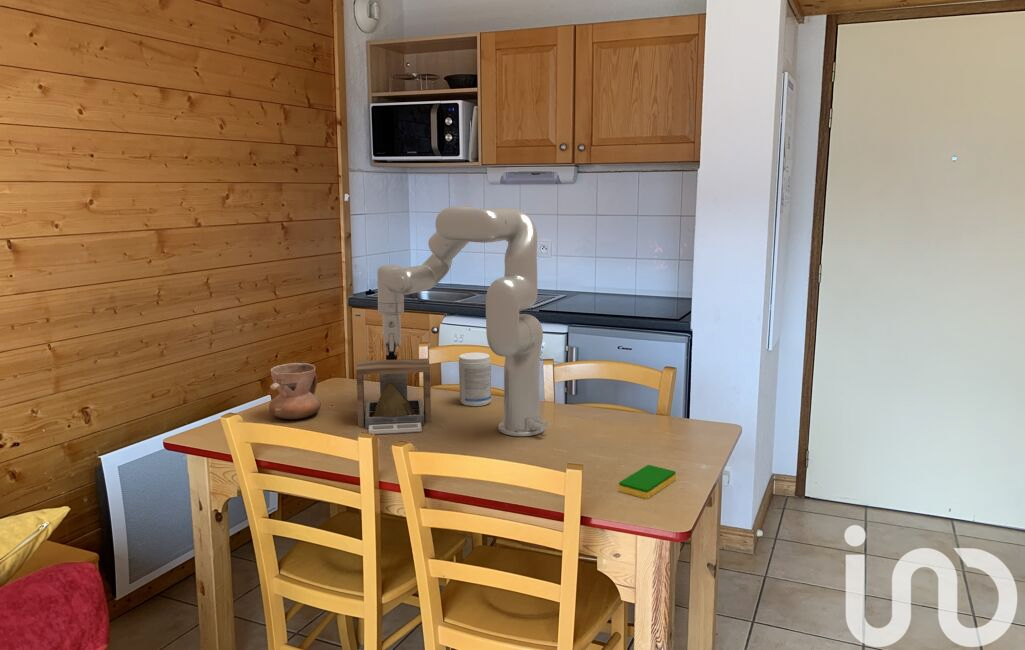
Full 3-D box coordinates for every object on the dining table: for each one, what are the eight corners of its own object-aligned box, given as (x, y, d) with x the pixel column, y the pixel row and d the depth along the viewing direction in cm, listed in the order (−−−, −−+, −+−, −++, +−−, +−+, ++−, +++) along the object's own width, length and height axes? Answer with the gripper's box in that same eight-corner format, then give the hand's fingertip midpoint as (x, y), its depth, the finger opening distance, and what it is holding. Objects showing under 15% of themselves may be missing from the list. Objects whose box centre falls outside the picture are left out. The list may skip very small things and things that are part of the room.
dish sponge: (675, 481, 177) (676, 471, 177) (646, 500, 166) (647, 490, 166) (647, 474, 181) (648, 464, 181) (617, 492, 171) (618, 482, 170)
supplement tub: (497, 402, 237) (497, 355, 234) (474, 409, 230) (474, 360, 228) (476, 396, 244) (475, 350, 241) (453, 402, 237) (452, 355, 234)
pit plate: (421, 432, 209) (421, 428, 209) (368, 435, 207) (368, 430, 207) (420, 426, 214) (420, 422, 214) (369, 429, 212) (369, 425, 212)
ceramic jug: (294, 427, 214) (291, 377, 211) (255, 420, 220) (252, 371, 217) (337, 410, 229) (335, 363, 227) (299, 403, 236) (297, 358, 233)
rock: (424, 408, 223) (399, 398, 229) (413, 390, 217) (388, 380, 223) (400, 437, 218) (376, 426, 224) (388, 419, 212) (364, 408, 218)
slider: (424, 424, 215) (423, 392, 213) (365, 427, 212) (364, 395, 210) (420, 399, 239) (419, 370, 237) (367, 402, 236) (366, 372, 235)
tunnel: (431, 422, 218) (429, 366, 215) (358, 425, 215) (356, 369, 212) (429, 411, 228) (428, 358, 225) (359, 415, 225) (357, 361, 222)
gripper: (404, 312, 222) (405, 374, 225) (403, 303, 236) (403, 361, 240) (377, 312, 221) (378, 375, 224) (378, 303, 235) (379, 362, 239)
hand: (391, 368), depth 232 cm, fingers closed
